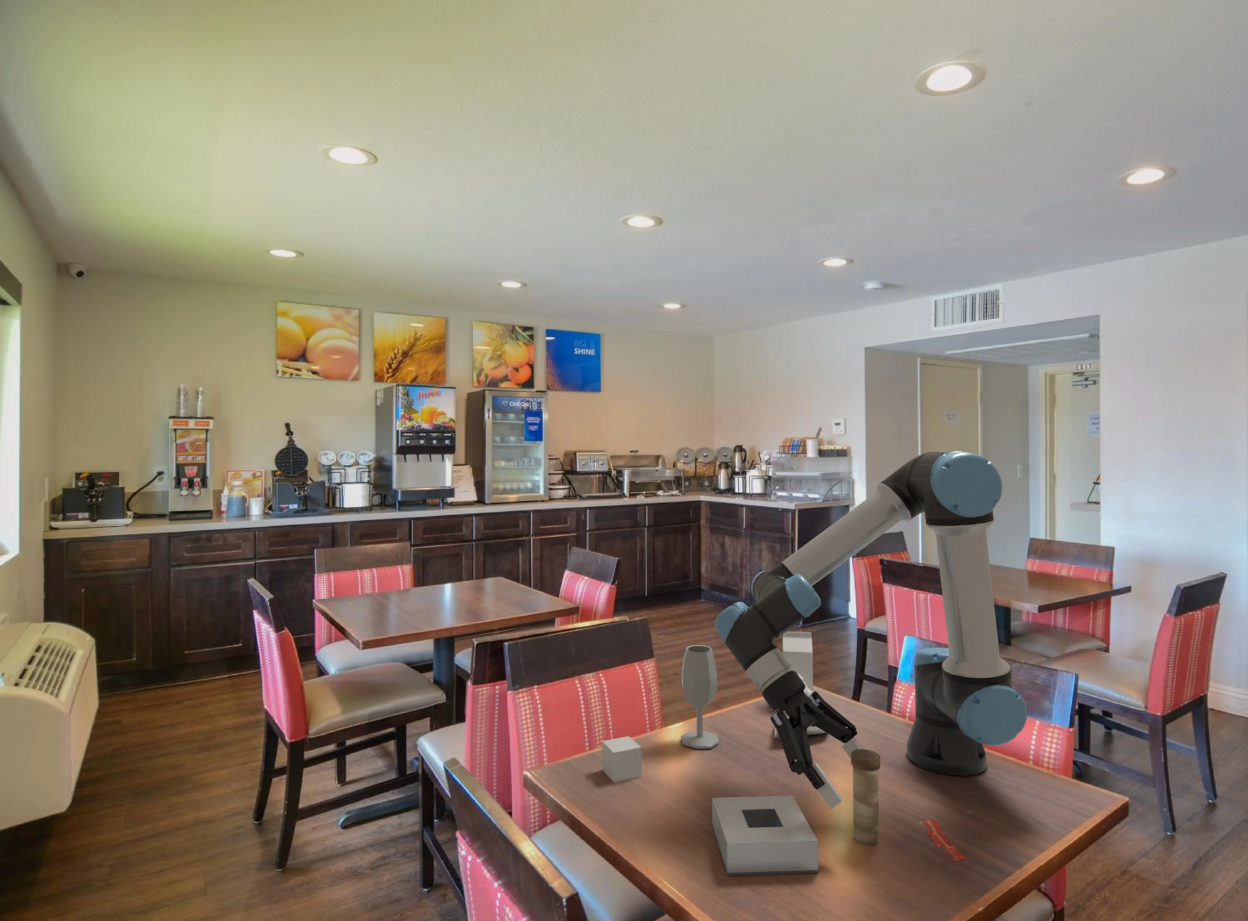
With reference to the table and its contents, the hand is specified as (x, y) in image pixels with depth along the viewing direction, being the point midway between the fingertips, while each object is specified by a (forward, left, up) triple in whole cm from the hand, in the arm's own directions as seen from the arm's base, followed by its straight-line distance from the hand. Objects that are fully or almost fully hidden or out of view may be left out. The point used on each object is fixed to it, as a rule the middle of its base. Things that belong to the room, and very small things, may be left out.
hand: (855, 789), depth 115 cm
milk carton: (-7, -59, -8) cm, 60 cm away
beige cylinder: (-1, +1, -8) cm, 8 cm away
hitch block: (+17, +3, -8) cm, 19 cm away
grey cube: (+39, -25, -8) cm, 47 cm away
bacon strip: (-14, 0, -8) cm, 16 cm away
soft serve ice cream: (-2, -42, -8) cm, 43 cm away
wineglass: (+21, -39, -8) cm, 45 cm away
